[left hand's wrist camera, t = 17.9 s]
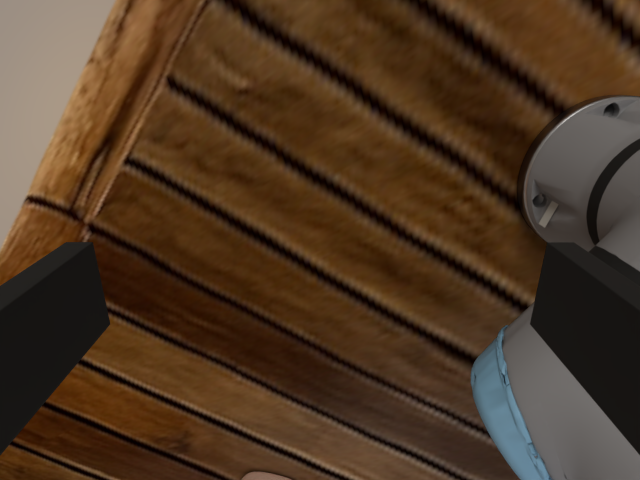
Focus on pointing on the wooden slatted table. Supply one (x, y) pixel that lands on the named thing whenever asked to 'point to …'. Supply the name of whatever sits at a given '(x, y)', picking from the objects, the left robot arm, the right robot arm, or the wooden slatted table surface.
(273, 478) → the anatomical model
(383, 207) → the wooden slatted table surface
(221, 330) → the wooden slatted table surface
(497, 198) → the wooden slatted table surface
